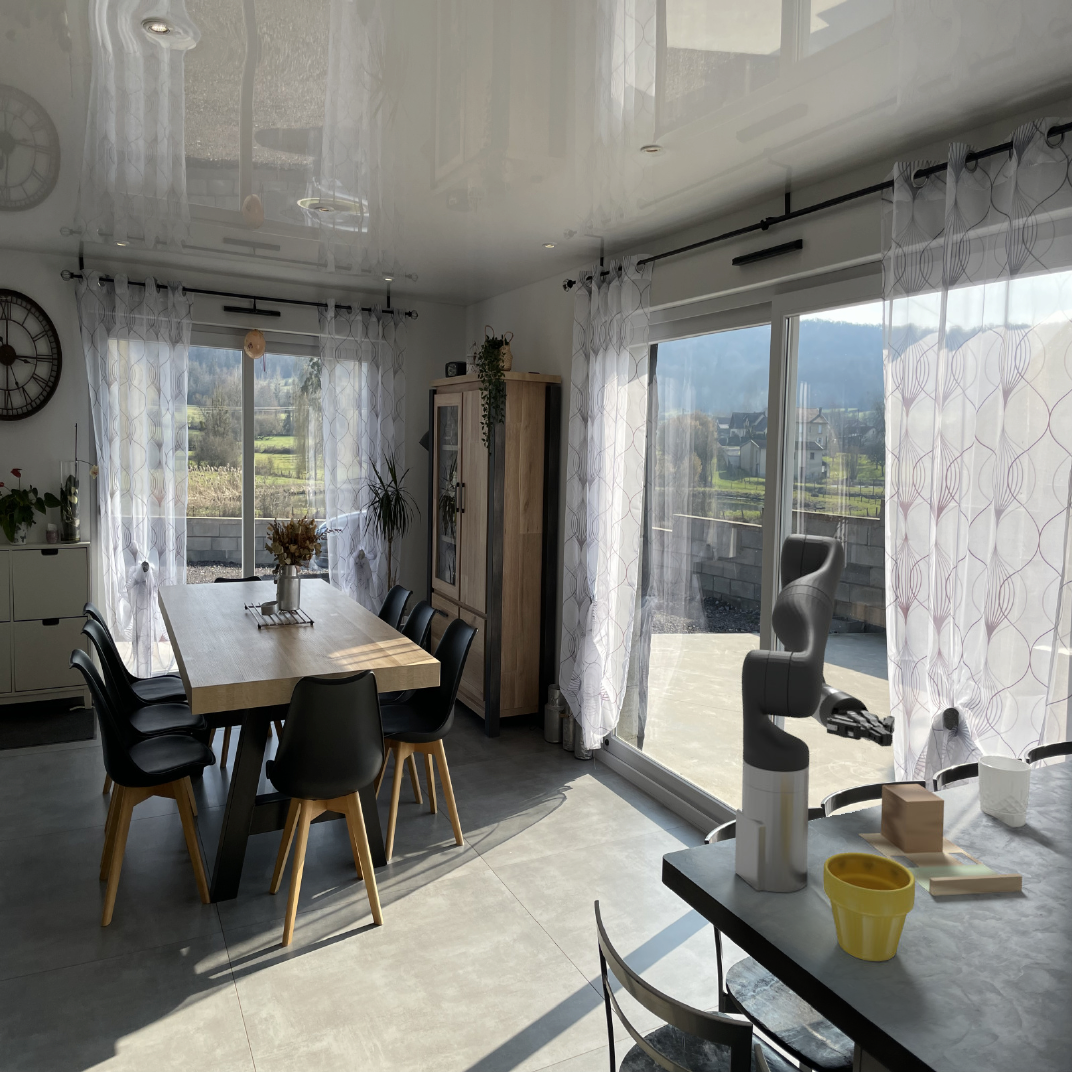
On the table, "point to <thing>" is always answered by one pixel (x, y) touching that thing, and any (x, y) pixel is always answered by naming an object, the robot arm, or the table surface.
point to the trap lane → (948, 870)
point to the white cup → (1004, 788)
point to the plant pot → (868, 902)
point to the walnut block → (912, 818)
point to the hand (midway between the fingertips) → (887, 740)
